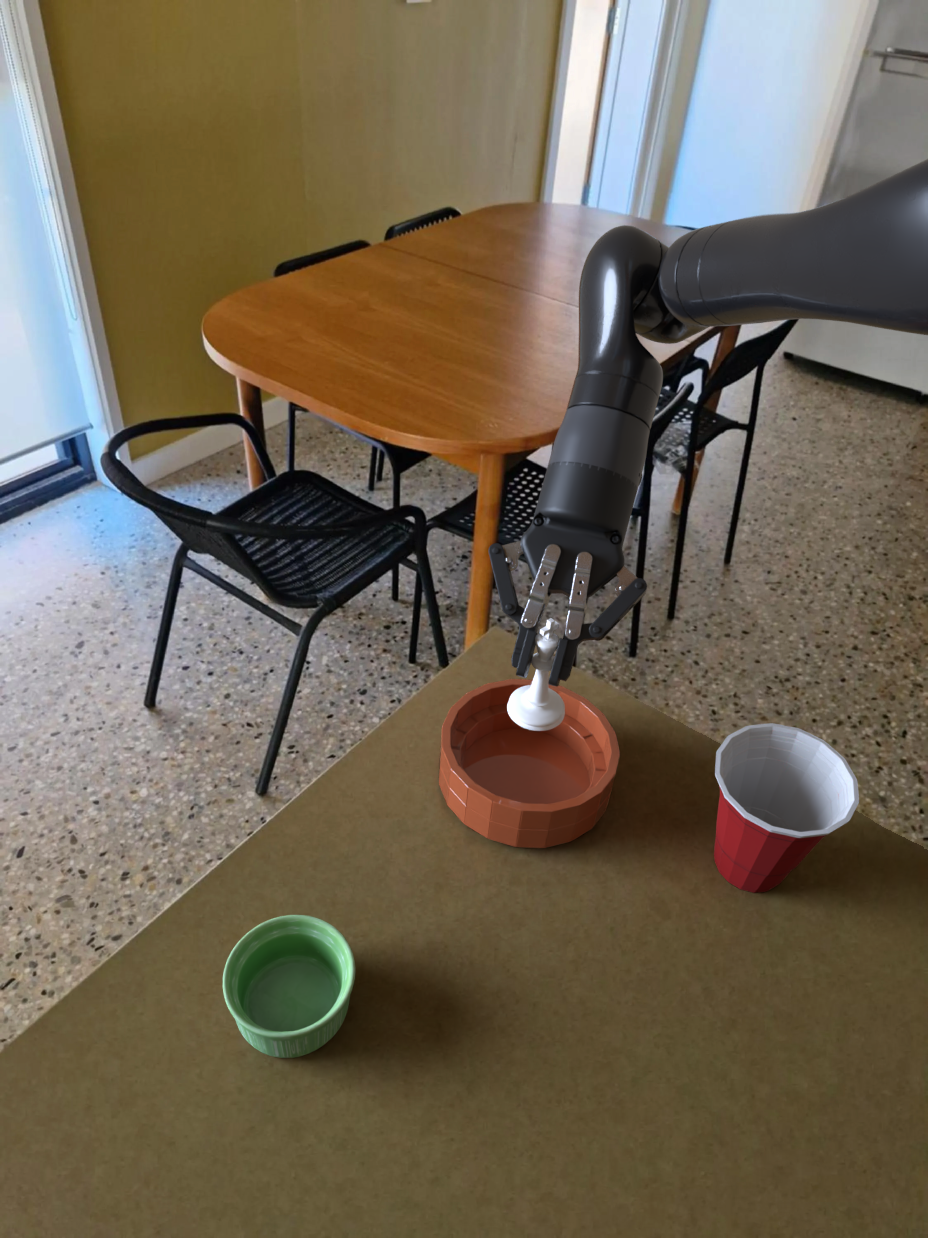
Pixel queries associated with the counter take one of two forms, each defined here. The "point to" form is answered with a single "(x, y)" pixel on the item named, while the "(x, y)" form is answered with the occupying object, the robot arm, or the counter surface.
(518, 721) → the chess piece
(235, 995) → the ramekin
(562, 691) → the bowl
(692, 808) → the counter surface
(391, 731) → the counter surface
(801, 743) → the plastic cup
